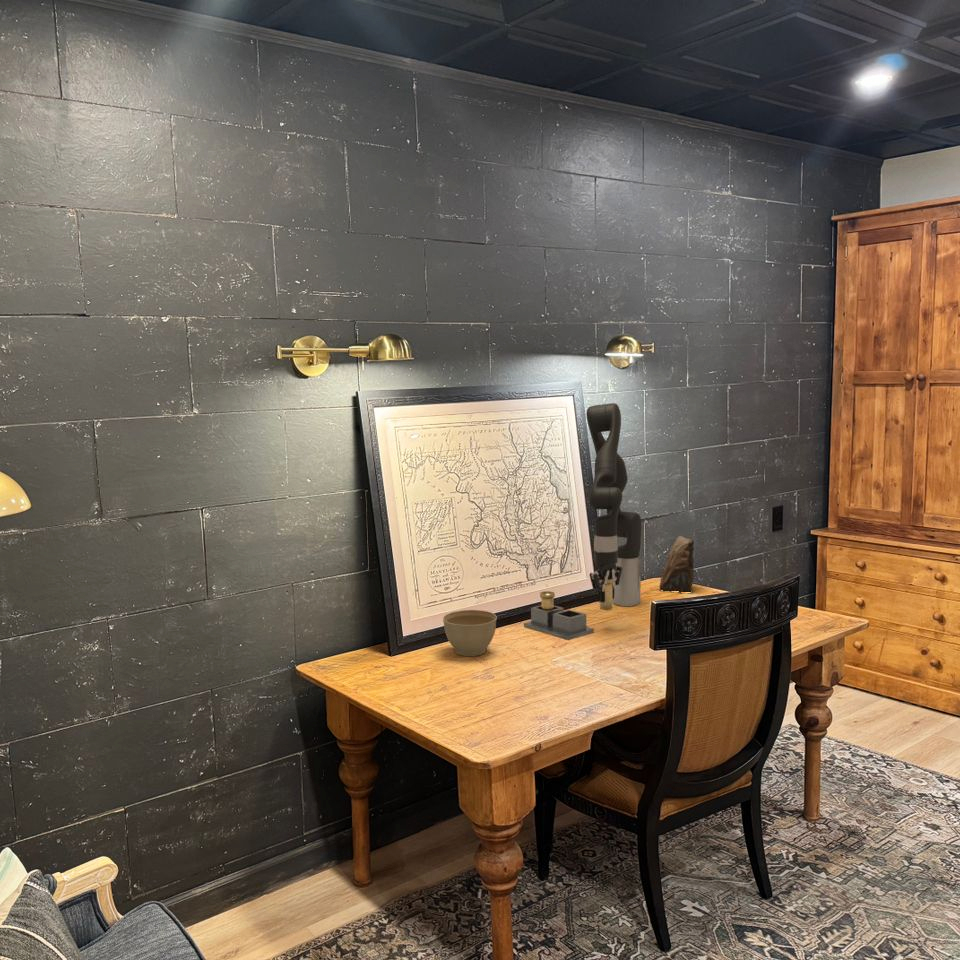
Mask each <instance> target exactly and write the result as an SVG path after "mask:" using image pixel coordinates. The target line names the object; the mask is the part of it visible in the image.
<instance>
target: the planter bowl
mask: <svg viewBox="0 0 960 960" xmlns="http://www.w3.org/2000/svg"><path fill="white" fill-rule="evenodd" d="M497 618H498V617H497V615H496V614H495V613H493V612H491V611H487V610H481V609H463V610H462V609H461V610H457V611H451V612H449V613H446V614H445V615H443V617H442V622H443V627H444V633H445V635H446V637H447V640H448V641H449V643H450V645H451V647H453V649H454V653H455V654H457V655H459V656H465V657H476V656H480V655H481V656H482V655H484V654H485V653H486V652H487V651H488V646H490V644H491V643H492V640H493V638H494V636H495V634H496V633H495V632H496V627H497V620H498V619H497Z"/></svg>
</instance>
